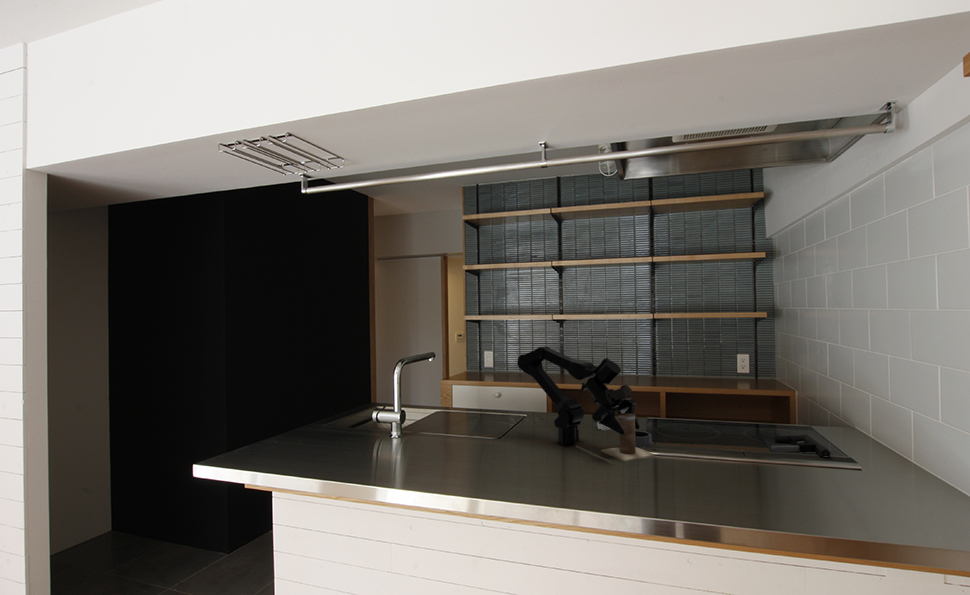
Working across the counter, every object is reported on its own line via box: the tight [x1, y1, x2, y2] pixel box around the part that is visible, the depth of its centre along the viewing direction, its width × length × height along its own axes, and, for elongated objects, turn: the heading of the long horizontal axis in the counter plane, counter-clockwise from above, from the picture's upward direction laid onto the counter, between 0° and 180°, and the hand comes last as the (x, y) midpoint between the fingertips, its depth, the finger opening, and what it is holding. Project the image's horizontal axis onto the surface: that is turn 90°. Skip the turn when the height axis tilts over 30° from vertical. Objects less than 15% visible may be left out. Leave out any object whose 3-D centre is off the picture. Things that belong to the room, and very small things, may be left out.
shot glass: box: [596, 422, 611, 431], centre depth 206 cm, size 7×7×7 cm
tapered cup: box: [618, 413, 636, 454], centre depth 168 cm, size 5×5×12 cm
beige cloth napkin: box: [600, 446, 656, 462], centre depth 168 cm, size 12×12×2 cm
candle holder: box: [635, 430, 654, 448], centre depth 181 cm, size 10×10×4 cm
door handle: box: [770, 433, 831, 458], centre depth 173 cm, size 3×20×16 cm
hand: (631, 431), depth 167 cm, fingers open, 9 cm apart
